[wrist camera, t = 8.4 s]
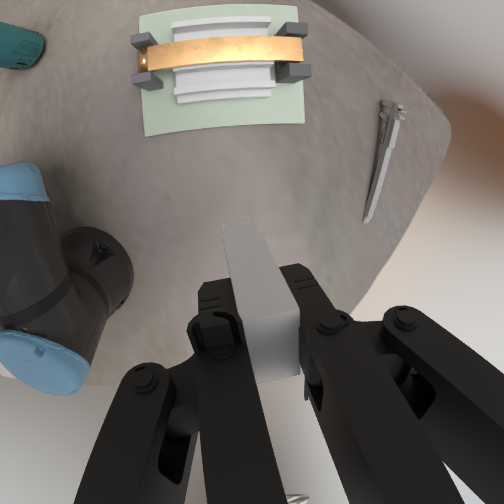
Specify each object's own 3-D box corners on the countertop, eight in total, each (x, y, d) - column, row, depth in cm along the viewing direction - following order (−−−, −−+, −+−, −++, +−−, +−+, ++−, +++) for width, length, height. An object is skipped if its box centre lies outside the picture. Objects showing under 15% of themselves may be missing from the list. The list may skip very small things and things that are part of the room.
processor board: (147, 136, 33) (127, 141, 25) (141, 19, 25) (123, -6, 17) (301, 123, 35) (327, 124, 27) (293, 9, 27) (316, -16, 19)
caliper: (378, 100, 35) (402, 100, 29) (384, 102, 35) (408, 102, 30) (361, 222, 44) (380, 237, 38) (366, 222, 44) (386, 237, 39)
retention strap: (144, 77, 26) (136, 72, 23) (143, 55, 25) (136, 48, 21) (294, 66, 28) (303, 60, 24) (292, 44, 26) (301, 37, 23)
